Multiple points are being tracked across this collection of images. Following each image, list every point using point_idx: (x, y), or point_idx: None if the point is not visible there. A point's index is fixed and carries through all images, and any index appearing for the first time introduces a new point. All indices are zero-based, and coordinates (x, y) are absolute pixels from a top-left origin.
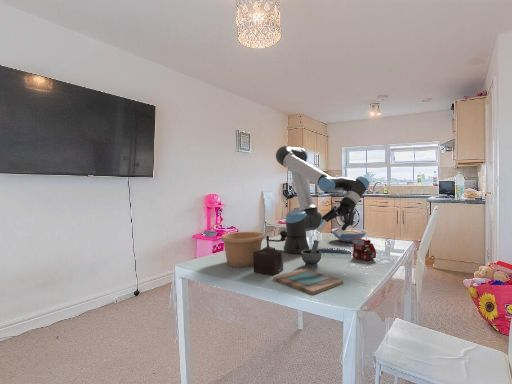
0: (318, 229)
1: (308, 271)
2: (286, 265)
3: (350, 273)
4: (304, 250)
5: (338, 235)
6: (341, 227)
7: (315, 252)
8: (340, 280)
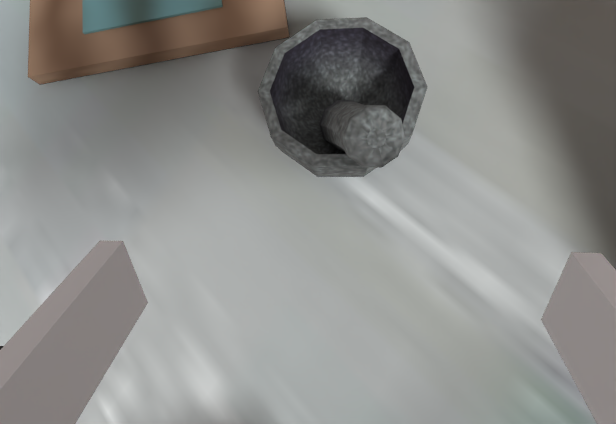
0: (571, 257)
1: (226, 24)
2: (434, 21)
3: (102, 222)
4: (413, 75)
5: (131, 285)
6: (10, 354)
7: (328, 126)
8: (35, 66)
